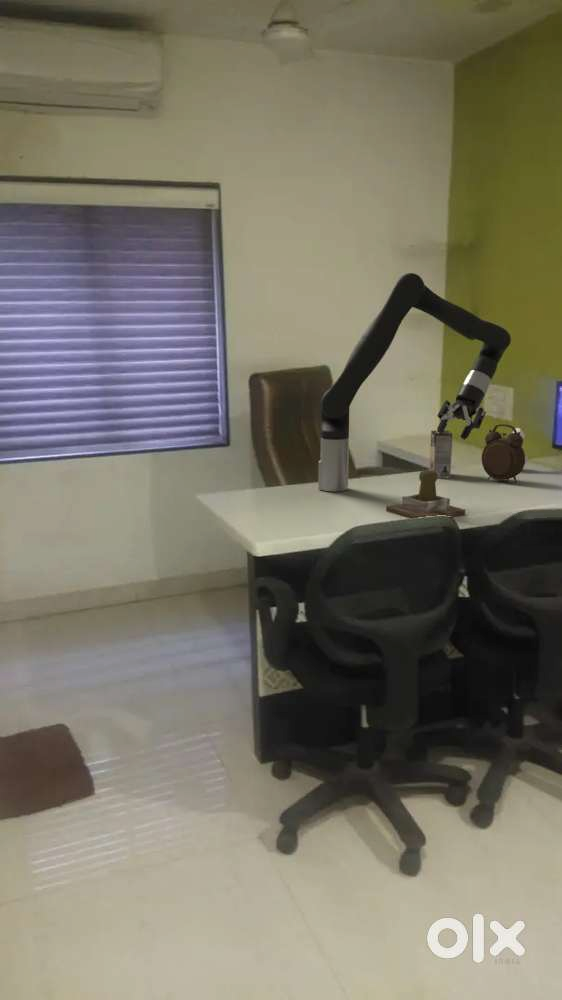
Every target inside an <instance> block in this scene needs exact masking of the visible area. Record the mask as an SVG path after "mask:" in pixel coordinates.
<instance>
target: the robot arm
mask: <svg viewBox="0 0 562 1000" xmlns="http://www.w3.org/2000/svg"><path fill="white" fill-rule="evenodd" d="M412 308H413V309H416V310H419V311H422V312H423V313H425V314H428V315H429V316H431V317H433V318H434V319H436V320H438V321H439V322H441V323H442V324H444V325H445V326H446V327H448V328H449V329H451V330H453V331H454V332H456V333H458V334H459V335H461V336H463V338H466V339H467V340H471V341H475V340H478V341H480V342H482V343H483V344H482V345H481V348H480V350H479V352H478V355H477V358H476V359H475V360H474V362H473V364H472V366H471V368H470V371H469V372H468V374H467V375H466V377H465V379H464V380H463V383H462V385H461V386H460V388H459V390H458V393H457V395H456V398H455V401H454V402H450V401H449V399H448V400H445V401H444V403H443V404H442V406H441V408H440V409H439V411H438V413H437V417H438V419H439V420H440V422H439V424H438V426H437V430H436V431H438V432H439V433H440V434H443V432H444V431H446V430H445V429H446V427H447V426H448V423H449V422H451V421H454V420H455V419H458V420H463V421H465V423H466V425H465V426H464V428H463V430H462V432H461V434H460V438H461V439H462V440H464V441H465V440H466V439H468V438H469V436H470V434H471V432H472V430H473V429H478V430H479V429H480V428H481V425H482V422H483V421H484V418H485V416H486V413H487V412H486V411H485V409H484V408H483V407H482V406H481V404H482V402H483V400H484V398H485V396H486V393H487V392H488V389H489V387H490V385H491V382H492V380H493V378H494V375H495V374H496V371H497V368H498V364H499V363H500V361H501V359H502V357H503V355H504V353H505V352H506V350H507V349H508V348H509V346H510V344H511V342H512V338H511V337H512V336H511V334H510V333H509V331H507V329H505V328H504V327H502V326H500V325H498V324H495V323H493V322H490V321H486V320H483V319H482V318H480V317H478V316H477V315H475V314H474V313H472V312H470V311H468V310H467V309H465V308H463V307H461V306H459V305H456V304H454V303H453V302H450V301H448V300H447V299H444V298H443V297H441V296H439V295H438V294H437V293H435V292H433V291H432V290H431V289H430V288H429V287H428V286H426V285H425V281H424V280H423V278H422V277H421V276H420V275H418V274H417V273H415V272H409V273H408V272H407V273H405V274H402V275H401V276H400V277H398V279H397V280H396V282H395V284H394V286H393V288H392V291H391V293H390V294H389V296H388V297H387V300H386V302H384V305H383V307H382V308H381V309H380V311H379V313H377V315H376V316H375V317H374V318H373V320H372V321H371V323H370V324H369V325H368V327H367V328H366V330H365V331H364V333H363V334H362V335H361V336H360V339H359V340H358V342H357V344H356V345H355V347H354V348H353V350H352V352H351V354H350V355H349V357H348V360H347V362H346V363H345V366H344V368H343V371H342V372H341V373H340V375H339V377H338V378H337V379H336V381H335V382H334V383H333V384H332V385H331V387H330V388H329V389H327V390H326V391H325V393H324V394H323V395H322V397H321V399H320V400H321V401H320V408H321V409H320V411H321V413H320V414H321V415H320V416H321V417H320V418H321V419H320V421H321V422H320V460H318V488H317V489H318V491H319V490H320V491H321V490H322V491H325V492H334V493H335V492H337V493H338V492H345V491H347V490H348V489H349V449H350V448H349V447H350V446H349V445H350V443H349V442H350V406H351V404H352V403H353V401H354V399H355V396H357V393H358V391H359V390H360V388H361V386H362V385H363V383H364V382H365V381H366V380H367V378H368V377H370V375H371V374H372V373H373V372H374V370H375V369H376V368H377V366H378V364H380V363H381V361H382V359H383V358H384V356H385V355H386V353H387V351H388V350H389V349H390V347H391V345H392V343H393V340H394V339H395V337H396V334H397V332H398V331H399V327H400V325H401V324H402V322H403V320H404V319H405V317H406V316H407V314H409V312H410V311H411V310H412ZM480 406H481V407H480ZM474 415H475V417H474V418H473V416H474Z"/></svg>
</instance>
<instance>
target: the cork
mask: <svg viewBox="0 0 562 1000" xmlns="http://www.w3.org/2000/svg"><path fill="white" fill-rule="evenodd" d="M418 479H419V481H420V485H419V492H418V494H419V496H418V500H420V501H424V502H428V501H434V500H437V497H436V495H437V489H436V488H437V487H436V482H437V480H438V478H437V473H436V472H435V471H432V470H430V469H426V470H424V469H423V470H422V471H420V472H419V474H418Z"/></svg>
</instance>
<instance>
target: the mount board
mask: <svg viewBox="0 0 562 1000" xmlns="http://www.w3.org/2000/svg"><path fill="white" fill-rule="evenodd" d="M418 496H419V493H418V494H411V495H405V496H402V498H401V503H396V504H391V505H386V508H385V509H386V511H385V512H388V513H391V514H395V515H397V516H402V517H405V518H408V519H411V518H418V517H426V516H437V515H446V516H451V518H456V517H461V516H464V515H465V516H466V509H465V508H460V507H456V506H453V505H450V503H451V501H450V500H451V499H450V498H448V497H444V496H440V495H437V494H436V497H437V500H434V501H428V502H424V501H420V500H418Z"/></svg>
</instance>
